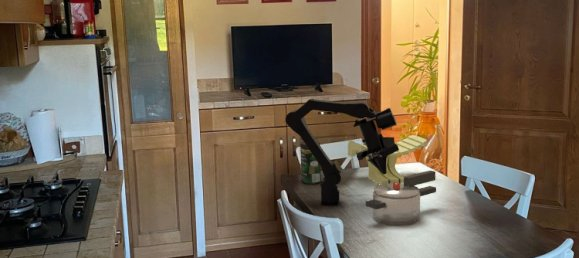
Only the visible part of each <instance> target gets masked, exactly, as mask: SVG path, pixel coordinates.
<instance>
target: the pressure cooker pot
mask: <svg viewBox="0 0 579 258" xmlns="http://www.w3.org/2000/svg"><path fill="white" fill-rule="evenodd" d="M435 193H437V187H436V186H431V185H428V186H424V187H421V188H419V194H418V195H417V196H415V197H411V198H401V199H396V198H386V197H381V196H378V195H376V194H375V193H374V190H373V191H372V199H370V200H367V201H365V207H367V208H371V209H372V219H373V221H375V222H376V223H378V224H381V225H385V226H394V227H405V226H411V225H416V224H417V223H419V222H420V220H421V197H424V196H428V195H431V194H435Z"/></svg>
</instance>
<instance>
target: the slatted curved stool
mask: <svg viewBox="0 0 579 258" xmlns="http://www.w3.org/2000/svg"><path fill="white" fill-rule="evenodd" d="M395 144H397V145H398V148H399V151H396V152H394V153H392V154H390V155H388V157H387V159H386V172H387V173H386V174H382V173H381V172H380V171H379V170H378V169H377V168H376V167H375V166H374V165H373V164H372V163H371V162H370V161H368V159H369V158H368V156H367V157H365V159H366V162H367V166H368V172H367V174H368V175H367V177H368V179H369V178H371V179H372V180H371V179H370V180H371V181H373V180H374V181H375V183H376V182H377V183H376V184H377V185H379V184H380V185H381V184H388V183H394V182H398V183H401V184H404V177H405V176H404V175H402V174H401V173H400V172H399V171H398V170H397V169H396V162H397V160H398V158H399V155H401V156H406V155H410V153H416V150H422V147H424V148H425V147H428V139H427V138H423V137H421V136H418V135H415V134H412V135H409V136H407V138H403V139H401V140H400V141H397V142H395ZM365 149H367V146H366V144H362V143H359V142H356V141H354V140H352V139H349V140H348V143H347V156H349V157H350V158H352V157H355V156H356V157H357V153H358V152H360V151H363V150H365ZM374 181H373V182H374Z"/></svg>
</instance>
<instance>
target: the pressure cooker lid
mask: <svg viewBox="0 0 579 258" xmlns="http://www.w3.org/2000/svg"><path fill="white" fill-rule="evenodd" d="M434 181H436V171H435V170H426V171H421V172H418V173H414V174H409V175H406V176H404V183H398V182H394V183H388V184H381V185H379V184H377V185H376V186H375V187H374V188H373V191H374V193H375V194H376V195H378V196H381V197H386V198H396V199H401V198H411V197H415V196H417V195H418V194H419V189H420V188H419V187H418V185H422V184H427V183H429V182H434Z"/></svg>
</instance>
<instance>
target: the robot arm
mask: <svg viewBox="0 0 579 258" xmlns="http://www.w3.org/2000/svg"><path fill="white" fill-rule="evenodd" d="M312 111H319V112H320V111H321V112H330V113H337V114H345V115H348V116H350V117H353V118H357V119H355V121H354V124H353V125H352V126H353V127H354V128H356V127H359V129H360V131H361V134H362V135H361V136H362V138H363V139H362V140H361V142H362V143H365V146H367V149H365V150H363V151H360V152H358V153H357V155H356V158H357V161H363V160H364V159H366V157H367V156H368V158H369V159H368V161H370V162H371V163H372V164H373V165H374V166H375V167H376V168H377V169H378V170H379V171H380V172H381V173H382V174H386V173H387V172H386V159H387V157H388V155H390V154H392V153H394V152H396V151H399V148H398V145H397V144H396V142H395V137H394V136H383V134H382V133H379V131H378V129H380V130H382V131H384V130H386V129H387V130H388V129H389V128H392V127H395V126H397V125H398V124H397V121H396V118H395V115H394V114H393V111H392V108H391V107H387V108H386V109H384V110H382V111H378V112H377V111H376V110H374V109H373V108H371V107H370V105H369V104H368V102H367V101H364V100H359V101H348V102H347V101H346V102H344V101H343V102H342V101H331V100H325V99H315V98H308V99H307V101H306V102H305V103H303V104H302V105H301V106H300V107H299V108H298V109H293V110H291V111H289V112H288V113H287V114H286V116H285V123H286V126H288V127H289V128H290V129H291V130H292V131H293V132H294V133H295V134H297V135H298V136H299V137H300V138H301V141H302V140H303V141H304V143H305V144H306V146H307V147H308V148H309V150H310V151H311V153H312V154H313V156H314V157H315V159H316V160H317V161H318V163H319V164H320V170H321V171H322V174H323V176H324V177H323V179H321V181H320V184H319V186H320V205H321V206H328V205H329V206H330V205H331V206H336V205H337V206H338V205H339V203H340V189H339V187H338V185H339V184H340V183H341V181H342V178H343V174H344V172H343V167H341V166H340V164H339V162H338V160H335V161H333V160H331V159H330V157H329V156H328V155H327V154H326V152H325V151H324V149H323V147H322V146H321V144H320V145H319V143H320V142H319V141H317V139H316V138H315V136H314V135H313V133H312V132H311V130H310V129H309V126H308V123H307V120H306V119H305V116H307V115H308V114H309V113H310V112H312ZM359 119H360V120H359ZM318 142H319V143H318Z"/></svg>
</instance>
